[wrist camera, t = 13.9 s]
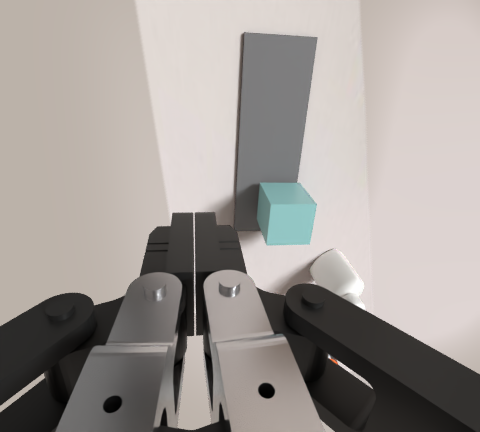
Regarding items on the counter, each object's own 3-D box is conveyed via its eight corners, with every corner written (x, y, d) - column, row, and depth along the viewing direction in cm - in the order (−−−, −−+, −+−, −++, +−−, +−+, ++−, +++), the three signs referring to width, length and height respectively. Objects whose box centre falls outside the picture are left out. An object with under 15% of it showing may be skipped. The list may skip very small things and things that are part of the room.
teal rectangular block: (259, 182, 41) (270, 204, 35) (299, 182, 42) (316, 204, 36) (256, 219, 43) (266, 245, 37) (294, 218, 44) (309, 244, 38)
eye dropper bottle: (344, 267, 51) (384, 324, 40) (310, 278, 51) (341, 337, 40) (341, 245, 49) (382, 299, 38) (305, 256, 49) (336, 313, 38)
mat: (244, 32, 34) (244, 32, 34) (316, 37, 36) (317, 37, 35) (234, 229, 45) (234, 231, 45) (289, 228, 46) (290, 230, 46)
